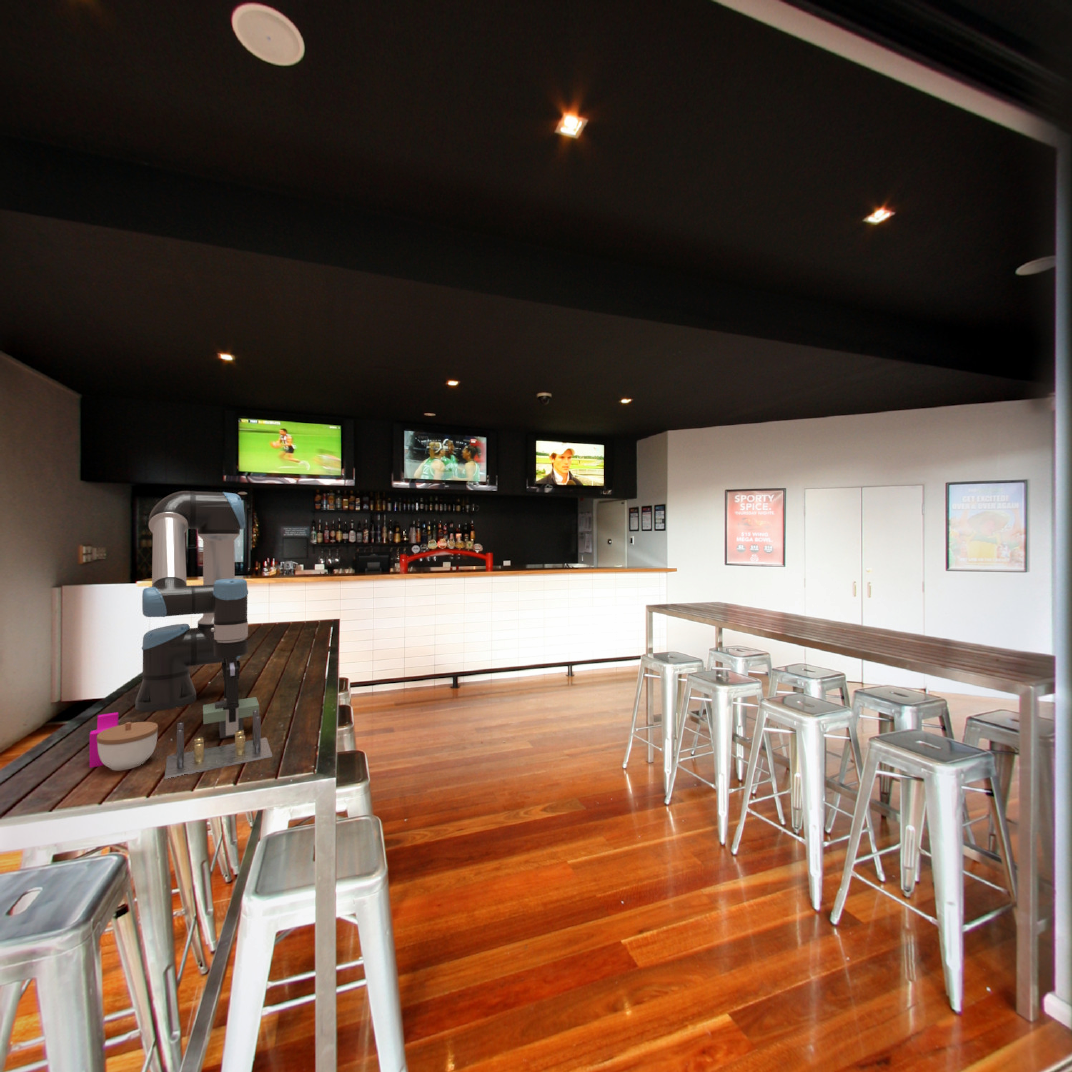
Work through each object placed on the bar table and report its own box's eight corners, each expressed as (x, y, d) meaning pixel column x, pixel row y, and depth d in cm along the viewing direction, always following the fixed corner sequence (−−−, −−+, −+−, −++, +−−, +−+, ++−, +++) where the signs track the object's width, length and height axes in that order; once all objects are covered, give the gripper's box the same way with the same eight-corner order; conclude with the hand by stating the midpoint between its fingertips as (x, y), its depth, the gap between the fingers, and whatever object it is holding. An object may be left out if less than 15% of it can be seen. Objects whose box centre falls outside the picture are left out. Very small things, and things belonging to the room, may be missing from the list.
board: (203, 714, 134) (203, 701, 134) (256, 706, 141) (256, 693, 141) (203, 724, 128) (203, 709, 128) (259, 714, 134) (259, 701, 134)
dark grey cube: (219, 733, 135) (219, 713, 135) (241, 729, 138) (241, 710, 138) (220, 739, 131) (220, 719, 131) (243, 735, 134) (243, 715, 134)
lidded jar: (162, 765, 116) (162, 723, 116) (99, 781, 109) (99, 736, 109) (153, 750, 124) (153, 711, 124) (93, 765, 116) (93, 722, 116)
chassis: (167, 760, 119) (167, 720, 119) (266, 741, 130) (266, 704, 130) (164, 781, 109) (164, 737, 109) (272, 758, 120) (272, 719, 120)
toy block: (125, 762, 118) (125, 728, 118) (89, 769, 115) (89, 734, 115) (131, 740, 131) (131, 710, 131) (98, 746, 127) (98, 715, 127)
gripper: (212, 634, 141) (212, 719, 141) (214, 648, 123) (215, 745, 124) (244, 631, 145) (244, 714, 145) (251, 645, 128) (251, 738, 128)
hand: (231, 728), depth 134 cm, fingers closed on board, 8 cm apart
